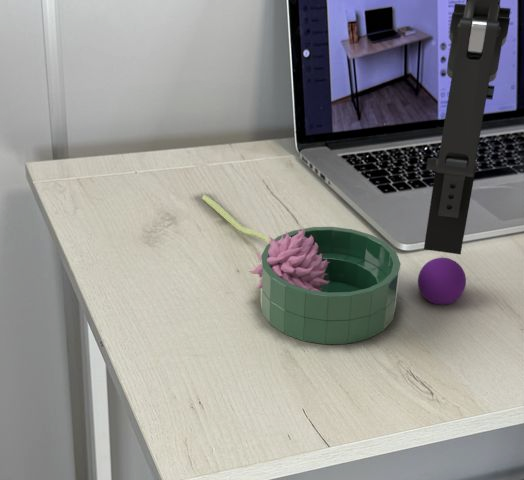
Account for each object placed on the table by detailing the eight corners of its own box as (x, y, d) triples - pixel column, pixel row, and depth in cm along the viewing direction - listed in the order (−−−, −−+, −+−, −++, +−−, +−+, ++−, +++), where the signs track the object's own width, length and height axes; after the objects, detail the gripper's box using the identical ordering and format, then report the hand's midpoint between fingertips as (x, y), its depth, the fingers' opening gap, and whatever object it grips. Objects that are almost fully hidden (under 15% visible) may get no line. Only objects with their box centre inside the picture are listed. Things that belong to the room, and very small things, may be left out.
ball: (463, 292, 77) (470, 252, 75) (460, 316, 74) (467, 276, 72) (417, 286, 78) (423, 246, 75) (412, 310, 75) (418, 269, 72)
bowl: (401, 286, 78) (407, 235, 75) (384, 358, 69) (390, 305, 66) (278, 269, 80) (279, 219, 77) (246, 337, 71) (246, 284, 68)
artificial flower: (166, 235, 90) (272, 329, 70) (170, 167, 87) (282, 245, 67) (226, 233, 93) (344, 323, 73) (232, 167, 90) (357, 242, 70)
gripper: (453, -113, 69) (419, 144, 81) (420, -46, 49) (381, 280, 62) (552, -106, 67) (501, 154, 80) (559, -35, 48) (490, 296, 60)
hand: (449, 210), depth 71 cm, fingers open, 13 cm apart
